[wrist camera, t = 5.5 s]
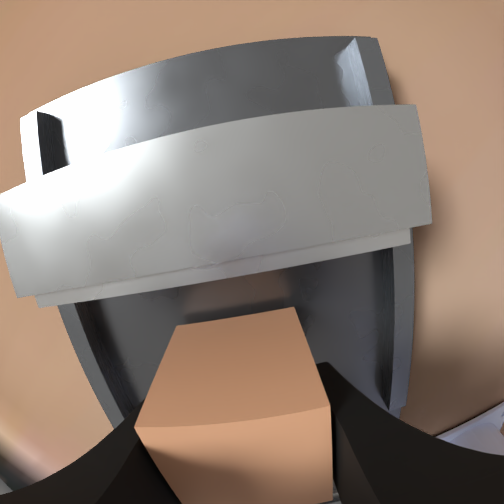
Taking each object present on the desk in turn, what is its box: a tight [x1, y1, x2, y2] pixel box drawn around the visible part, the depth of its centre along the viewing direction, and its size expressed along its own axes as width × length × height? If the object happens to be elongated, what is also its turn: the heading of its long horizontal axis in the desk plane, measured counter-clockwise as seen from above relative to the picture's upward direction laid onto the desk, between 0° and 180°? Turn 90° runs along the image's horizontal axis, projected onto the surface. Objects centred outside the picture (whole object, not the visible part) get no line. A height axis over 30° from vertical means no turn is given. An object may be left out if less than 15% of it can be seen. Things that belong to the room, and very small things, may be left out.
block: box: [134, 307, 333, 504], centre depth 8 cm, size 4×4×5 cm
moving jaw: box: [0, 105, 432, 308], centre depth 8 cm, size 3×10×4 cm, turn 100°
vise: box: [20, 36, 414, 504], centre depth 9 cm, size 18×13×5 cm
